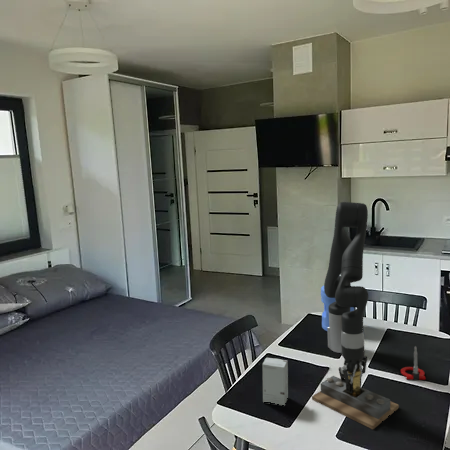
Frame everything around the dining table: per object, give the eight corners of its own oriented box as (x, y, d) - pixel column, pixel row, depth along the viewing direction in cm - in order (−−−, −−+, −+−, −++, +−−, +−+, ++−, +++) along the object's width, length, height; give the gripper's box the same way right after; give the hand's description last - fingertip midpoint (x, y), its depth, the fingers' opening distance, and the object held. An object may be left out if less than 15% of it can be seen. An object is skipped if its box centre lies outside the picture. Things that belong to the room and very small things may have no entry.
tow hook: (398, 369, 168) (404, 380, 159) (398, 338, 166) (404, 347, 157) (420, 369, 166) (428, 380, 157) (420, 338, 165) (428, 347, 156)
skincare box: (263, 403, 150) (260, 364, 148) (267, 394, 156) (265, 356, 154) (286, 406, 147) (284, 367, 145) (289, 397, 153) (287, 359, 151)
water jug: (359, 326, 210) (358, 272, 206) (345, 337, 199) (343, 280, 194) (331, 319, 221) (330, 268, 216) (316, 329, 209) (314, 275, 205)
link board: (312, 399, 150) (311, 385, 150) (338, 382, 160) (338, 369, 160) (372, 429, 132) (372, 414, 131) (398, 407, 142) (398, 393, 141)
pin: (344, 397, 146) (343, 371, 145) (352, 391, 149) (351, 365, 148) (356, 402, 143) (355, 376, 141) (364, 396, 146) (363, 370, 144)
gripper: (355, 333, 150) (356, 377, 153) (330, 346, 141) (332, 393, 144) (374, 339, 144) (374, 385, 147) (350, 353, 135) (351, 402, 138)
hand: (353, 389), depth 145 cm, fingers open, 4 cm apart
